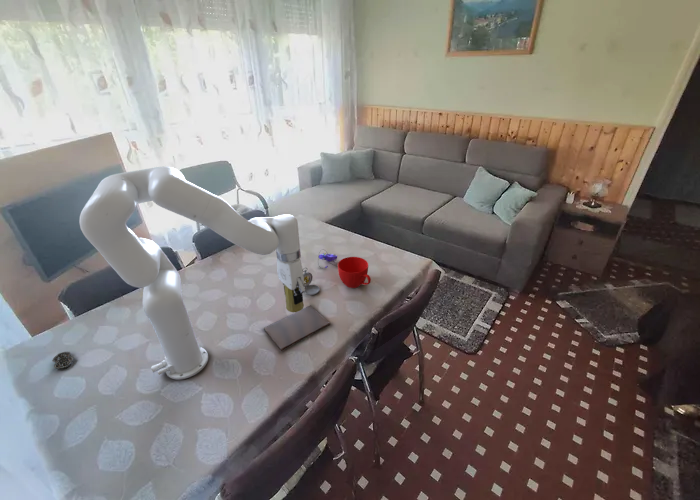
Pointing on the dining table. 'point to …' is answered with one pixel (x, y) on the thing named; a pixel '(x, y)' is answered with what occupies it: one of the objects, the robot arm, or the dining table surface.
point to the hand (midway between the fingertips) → (293, 297)
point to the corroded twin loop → (62, 360)
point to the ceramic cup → (353, 271)
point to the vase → (292, 301)
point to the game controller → (328, 257)
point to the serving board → (296, 327)
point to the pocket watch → (309, 288)
